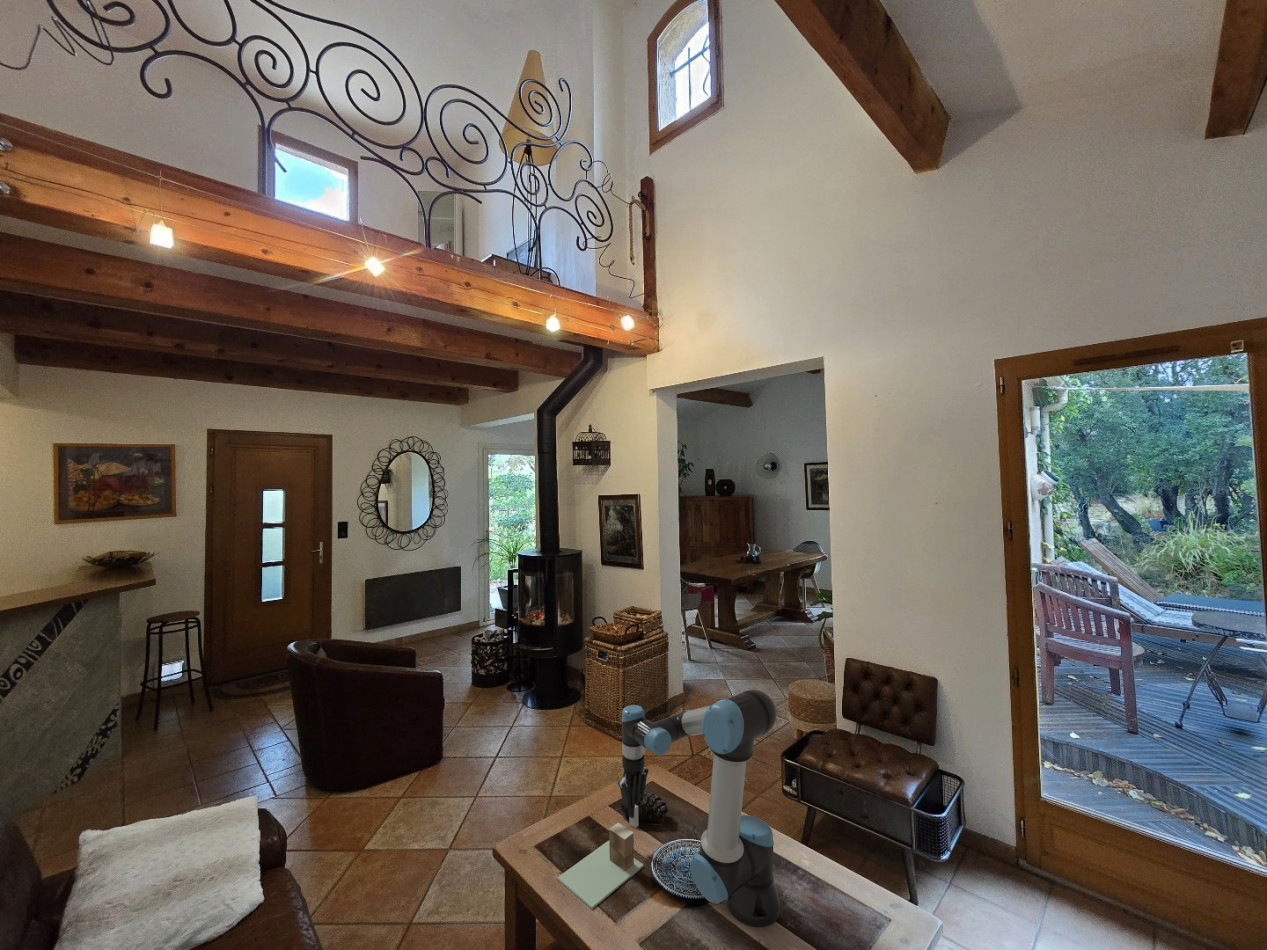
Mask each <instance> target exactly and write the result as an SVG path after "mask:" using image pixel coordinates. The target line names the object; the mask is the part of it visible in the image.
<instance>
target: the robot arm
mask: <svg viewBox="0 0 1267 950" xmlns="http://www.w3.org/2000/svg"><path fill="white" fill-rule="evenodd" d="M645 715H646V714H645V710H644V707H642V706H641V705H637V704H631V705H626V706H625V707H624V708H623V709H622V713H621V720H620V721H621V740H622V741H621V742H622V743H621V744H622V745H621V748H622V751H621V752H622V755H621V756H622V757H621V759H622V761H621V762H622V763H621V765H622V769H623V773H622V779H621V780H618V781H617V785H618V787H619V790H620V794H621V795H620V796H621V801H622V800H623V805H624V806H625V807H626V808H628V813H629V814H628V815H629V821H628V823H629V825H630V827H631V826H632V827H633V828H637V827H639V823H638V814H639V806H641V805H642V803H640V801H643V799H644V793H645V790H646V785H647V778H648V774H649V768H647V767H645V764H646V763H645V760H646V759H645V758H646V757H645V752H646V751H645V749H646V750H647V751H648V752H650V753H653V754H655V755H656V756H662V755H665V754H666V752H668V750H670V748H671V745H672V744H673V743H675V742H677V741H679V740H681V739H685V738H688V737H693V736H699V735H700V736H701V735H705V736H704V738H703V739H704V741H705V743H706V744H707V747H708V748H709V750H710V752H711V753H712V755H713V761H712V762H713V763H712V772H711V773H712V774H711V784H710V785H711V786H710V794H709V795H710V796H709V798H710V799H709V807H708V817H707V818H708V819H707V829H705V830H704V831H703V833H702V834H701V837H700V842H699V843H700V845H699V851H698V852H696V853H694V854H693V856H692V857H691V858H690V860H689V868H690V869H689V870H690V874H691V877H692V880H693V882H694V884H695V885H696V887H697V890H698V891H699V892H700V894H701V896H703V897H704V898H705V900H707V902H710V903H711V904H721V902H723V901H726V903H727V904H726V905H727V909H728V910H729V911H730V912H731V914H732V915H733V916H734V917H735V918H736V919H737V920H738V921H740V922H741V923H743V924H744V925H745V924H746V925H748V926H751V927H758V928H759V927H768V926H771V925H772V924H773V923H776V921H777V920H778V919H779V917H780V914H781V897H780V895H779V892H778V890H777V889H778V888H777V886H776V883H775V878H774V871H775V870H774V869H775V868H774V846H775V845H774V844H775V842H774V835H773V830H772V828H771V826H770V825H769V824H768V823H767V822H766V821H764V820H763V819H761V818H759V817H757V816H753V815H747V814H742V810H743V803H744V802H743V800H744V799H743V798H744V792H745V791H744V790H745V781H746V780H745V777H746V768H747V762H749V761H750V760H752V758H753V757H754V756H753V755H754V746H755V740H756V739H759V738H761V737H762V736H764V735H767V734H768V733H769V732H770V731H772V729H773V728H774V726H775V724H776V721H777V717H778V716H777V707H776V704H775V702H774V701H773V699H772V698H771V696H770V695H769V694H767V693H765V692H764V691H762V690H760V689H748V690H744V691H743V692H740V693H738V694H735V695H733V696H731V697H728V698H726V699H725V698H724V699H720V700H717V701H716V702H715V703H713V704H711V705H708V706H707V705H706V706H703V707H698V708H694V709H686V710H682V711H679V712H678V713H675V714H672V715H670V716H668V717H665V718H662V719H660V720H657V721H654V722H652V721H650V720H648V719H647V718H646V717H645ZM640 794H641V795H640Z"/></svg>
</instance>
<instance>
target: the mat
mask: <svg viewBox="0 0 1267 950" xmlns="http://www.w3.org/2000/svg"><path fill="white" fill-rule="evenodd" d="M643 867H644V863H642V862H641V861H639V859H636V858H635V857H634V865H632V866H631V867H630V868H629V869H627V870H626V871H624V870H622V869H621V868H620V867H618V866H617V865H616V864H614V863H613V862H611V861H610V855H609V840H607V841H605V843H603V844H601V845H600V846H599V847H597V848H596V849H595V850H593V851H591V852H590V853H589V854H588V855H587V856H585V857H584V858H582V859H581V860H580V861H578V862H577V863H575V864H574V865H573V866H571V867H570V868H569V869H567V870H566V871H564V872H563V873H562V874H560V875H559V876H558V877H557V878H556V879H557V881H559V882H560V883H561V884H562V885H563V886H564V887H565V888H567V889H568V890H569V891H570V892H571V893H573V895H574V896H576V897H577V898H578V899H579V900H580V901H581V902H583V903H584V904H585V905H587V907H588V908H590V909H591V910H593V909H595V908H596V907H597V906H598V905H599V904H600V903H602V902H603V901H604V900H605V899H607V897H609V896H610V895H611V894H612V893H614V892H615V891H616V890H617V889H619V888H620V886H622V885H623V884H624V883H625V882H627V881H628V880H629V879H630V878H632V877H634V875H635V874H637V873H638V872H639V871H640V870H641V869H642V868H643Z"/></svg>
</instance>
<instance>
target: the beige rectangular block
mask: <svg viewBox="0 0 1267 950" xmlns="http://www.w3.org/2000/svg"><path fill="white" fill-rule="evenodd" d="M608 831H609V835H608V836H609V840H608V841H609V855H610V861H611V862H613V863H614V864H616V865H617V866H618V867H620V868H621V869H622V870H624V871H626V870H627V869H629V868H630V867H631V866H632V865H634V858H635V853H634V852H635V850H634V849H635V848H634V843H635V842H634V839H635V838H634V836H635V834H634V832H633V831H632V830H630V829H629V828H628V827H626V826H624V825H622V824H621V823H619V822H617V823H615V824H614V825H613V826H611V827H609V830H608Z"/></svg>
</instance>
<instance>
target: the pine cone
mask: <svg viewBox="0 0 1267 950" xmlns="http://www.w3.org/2000/svg"><path fill="white" fill-rule="evenodd" d="M640 795H641V794H640ZM640 803H642V805H641V806H639V814H638V824H640V825H651V826H652V825H653V826H654V825H655V826H662V825H666V822H664V820H665V819H666V817H667V815H666V814H667V813H668V812H669V808H668V806H667V802H665V800H663V799H662V797H660V796H658V795H657V794H655V793H652V792H650V791H648V790H646V789H645V793H644V799H643V801H640ZM619 808H620V809H621V811H622V812H623V815H622V817H623V819H624V820H625V821H628V822H629V815H628V814H629V813H628V808H626V807H625V806H624V805H623V800H622V799H621V800H620V807H619Z"/></svg>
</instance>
